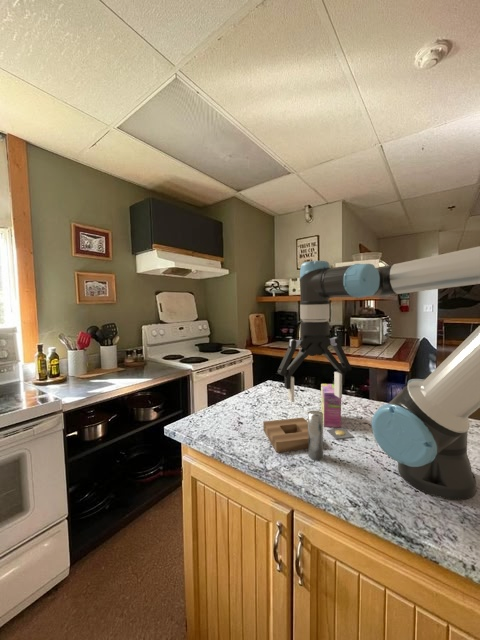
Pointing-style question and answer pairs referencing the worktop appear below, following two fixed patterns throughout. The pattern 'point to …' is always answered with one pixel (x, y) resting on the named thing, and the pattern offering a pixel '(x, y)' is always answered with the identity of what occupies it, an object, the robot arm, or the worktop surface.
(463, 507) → the worktop surface
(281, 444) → the board
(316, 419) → the peg
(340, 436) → the marker tile
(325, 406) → the box
